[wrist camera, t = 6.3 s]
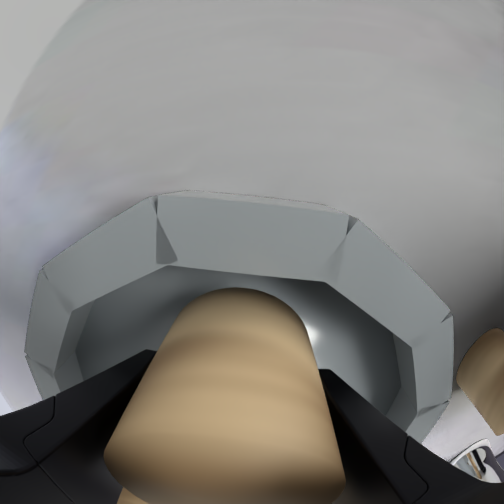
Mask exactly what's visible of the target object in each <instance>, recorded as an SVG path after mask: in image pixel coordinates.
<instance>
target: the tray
mask: <svg viewBox="0 0 504 504" xmlns="http://www.w3.org/2000/svg"><path fill="white" fill-rule="evenodd" d="M42 267H43V270H41V271H39V274H38V278H37V282H36V287H35V291H34V296H33V300H32V305H31V311H30V316H29V322H28V328H27V335H26V343H25V353H26V354H27V355H26V356H25V357H26V360H27V362H28V365H29V368H30V370H31V373H32V375H33V378H34V380H35V383H36V385H37V387H38V390H39V392H40V394H41V396H42V399H43V400H45V399H47V398H49V397H51V396H53V395H54V396H56V394H58V393H60V392H62V391H64V390H66V389H68V388H70V387H72V386H74V385H76V384H78V383H80V382H82V381H84V380H86V379H88V378H90V377H92V376H94V375H96V374H98V373H100V372H102V371H104V370H106V369H108V368H110V367H112V366H114V365H116V364H118V363H120V362H122V361H124V360H126V359H128V358H130V357H132V356H133V355H135V354H137V353H139V352H141V351H143V350H145V349H150V350H155V351H158V349H159V347H160V346H161V344H162V342H163V340H164V338H165V337H166V335H167V333H168V331H169V330H170V328H171V326H172V324H173V323H174V321H175V319H176V318H177V316H178V314H179V313H180V312H181V310H182V309H183V308H184V307H185V306H186V305H187V304H188V303H189V302H191V301H192V300H194V299H195V298H197V297H198V296H201V295H203V294H205V293H207V292H210V291H213V290H217V289H223V288H233V287H238V288H249V289H255V290H259V291H262V292H266V293H268V294H270V295H273V296H275V297H277V298H279V299H280V300H282V301H284V302H285V303H286V304H288V305H289V306H290V307H291V308H292V309H293V310H294V311H295V312H296V313H297V314H298V315H299V317H300V318H301V319H302V321H303V323H304V325H305V327H306V329H307V332H308V335H309V339H310V342H311V346H312V349H313V353H314V356H315V360H316V364H317V367H318V369H331V370H332V371H333V372H334V373H335V374H337V375H338V376H339V377H340V378H341V379H342V380H344V381H345V382H346V383H347V384H348V385H349V386H351V387H352V388H353V389H354V390H355V391H356V392H358V393H359V394H360V395H361V396H362V397H364V398H365V399H366V400H367V401H368V402H369V403H371V404H372V405H373V406H374V407H375V408H377V409H378V410H379V411H380V412H381V413H383V414H384V415H385V416H386V417H388V418H389V419H390V420H391V421H392V422H394V423H395V424H396V425H397V426H399V427H400V428H401V429H402V430H404V431H405V432H406V433H407V434H408V436H409V435H410V436H411V437H412V438H414V439H415V440H416V441H418V442H419V443H420V444H421V443H422V442H423V440H424V439H425V438H426V436H427V435H428V434H429V432H430V431H431V429H432V428H433V427H434V425H435V424H436V422H437V421H438V419H439V418H440V416H441V415H442V413H443V412H444V410H445V409H446V407H447V405H448V404H449V401H448V400H449V399H450V398H451V395H452V382H453V360H454V332H453V315H452V314H450V313H449V312H450V311H451V310H450V309H449V307H448V306H447V305H446V304H445V303H444V302H443V301H442V300H441V299H440V298H439V296H438V295H437V294H436V293H435V292H434V291H433V290H432V289H431V288H430V287H429V286H428V285H427V284H426V283H425V282H424V281H423V280H422V279H421V278H420V277H419V276H418V274H417V273H416V272H415V271H414V270H413V269H412V268H411V267H410V266H409V265H408V264H406V263H405V262H404V261H403V260H402V259H401V258H400V257H399V256H398V255H397V254H396V253H395V252H394V251H393V250H392V249H391V248H390V247H389V246H388V245H387V244H386V243H384V242H383V241H382V240H381V239H380V238H379V237H378V236H377V235H376V234H375V233H374V232H372V231H371V230H370V229H369V228H368V227H367V226H366V225H365V224H363V223H362V222H361V221H360V220H359V219H357V218H354V217H352V216H350V215H348V214H346V213H343V212H341V211H338V210H336V209H333V208H331V207H328V206H326V205H323V204H317V203H309V202H302V201H294V200H286V199H277V198H269V197H259V196H250V195H240V194H229V193H217V192H205V191H191V190H186V191H180V192H173V193H167V194H161V195H158V196H153V197H148V198H146V199H145V200H143V201H141V202H139V203H138V204H136V205H134V206H132V207H131V208H129V209H127V210H126V211H124V212H122V213H121V214H119V215H117V216H116V217H114V218H113V219H111V220H109V221H108V222H106V223H105V224H103V225H101V226H100V227H98V228H97V229H95V230H94V231H92V232H91V233H89V234H88V235H86V236H85V237H83V238H82V239H80V240H79V241H77V242H76V243H74V244H73V245H71V246H70V247H68V248H67V249H66V250H64V251H63V252H61V253H60V254H59V255H57V256H56V257H54V258H53V259H52V260H50V261H49V262H48V263H46V264H45V265H44V266H42Z"/></svg>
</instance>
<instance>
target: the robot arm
mask: <svg viewBox="0 0 504 504" xmlns="http://www.w3.org/2000/svg"><path fill="white" fill-rule="evenodd" d="M156 353H157V351H155V350H150V349H145V350H143V351H141V352H139V353H137V354H135V355H133V356H132V357H130V358H128V359H126V360H124V361H122V362H120V363H118V364H116V365H114V366H112V367H110V368H108V369H106V370H104V371H102V372H100V373H98V374H96V375H94V376H92V377H90V378H88V379H86V380H84V381H82V382H80V383H78V384H76V385H74V386H72V387H70V388H68V389H66V390H64V391H62V392H60V393H58V394H56V396H54V395H53V396H51V397H49V398H47V399H45V400H43V401H40V402H38V403H36V404H33V405H31V406H29V407H26V408H23V409H20V410H17V411H15V412H11V413H8V414H5V415H2V416H0V504H117V502H118V499H119V497H120V494H121V492H122V489H123V486H122V485H121V484H120V483H118V481H117V480H116V479H115V478H114V477H113V476H112V475H111V473H110V472H109V470H108V469H107V467H106V464H105V462H104V450H105V448H106V446H107V444H108V442H109V440H110V438H111V436H112V434H113V432H114V431H115V429H116V427H117V425H118V423H119V421H120V419H121V417H122V415H123V413H124V411H125V409H126V408H127V406H128V404H129V402H130V400H131V398H132V396H133V394H134V393H135V391H136V389H137V387H138V385H139V383H140V382H141V380H142V378H143V376H144V374H145V372H146V371H147V369H148V367H149V365H150V363H151V362H152V360H153V358H154V356H155V354H156ZM318 371H319V375H320V378H321V382H322V386H323V389H324V393H325V397H326V401H327V405H328V408H329V412H330V416H331V420H332V424H333V428H334V432H335V436H336V440H337V444H338V449H339V453H340V457H341V461H342V465H343V470H344V474H345V479H346V484H345V488H344V490H343V492H342V493H341V495H340V496H339V497H338V498H337V499H336V500H335V501H334V502H332V503H331V504H504V482H502V483H490V482H485V481H482V480H479V479H477V478H475V477H473V476H471V475H470V474H468V473H466V472H464V471H462V470H461V469H459V468H457V467H455V466H454V465H452V464H450V463H448V462H447V461H445V460H444V459H442V458H440V457H439V456H437V455H436V454H434V453H433V452H431V451H430V450H428V449H427V448H426V447H424V446H423V445H422V444H420V443H419V442H418V441H416V440H415V439H414V438H412V437H411V436H410V435H409V436H408V434H407V433H406V432H405V431H404V430H402V429H401V428H400V427H399V426H397V425H396V424H395V423H394V422H392V421H391V420H390V419H389V418H388V417H386V416H385V415H384V414H383V413H381V412H380V411H379V410H378V409H377V408H375V407H374V406H373V405H372V404H371V403H369V402H368V401H367V400H366V399H365V398H364V397H362V396H361V395H360V394H359V393H358V392H356V391H355V390H354V389H353V388H352V387H351V386H349V385H348V384H347V383H346V382H345V381H344V380H342V379H341V378H340V377H339V376H338V375H337V374H335V373H334V372H333V371H332V370H331V369H318Z"/></svg>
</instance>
